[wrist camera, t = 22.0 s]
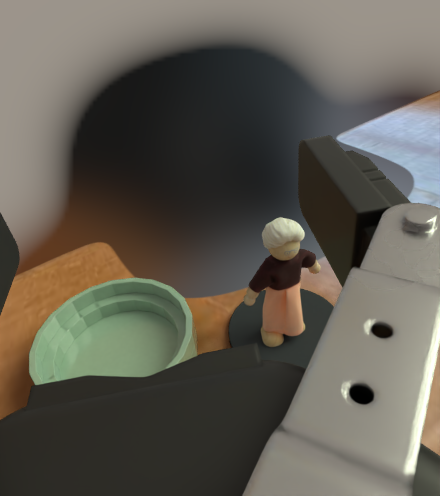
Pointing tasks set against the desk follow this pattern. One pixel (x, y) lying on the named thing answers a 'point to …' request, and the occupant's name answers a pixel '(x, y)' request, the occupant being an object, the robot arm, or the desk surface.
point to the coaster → (293, 347)
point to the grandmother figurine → (281, 281)
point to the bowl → (114, 333)
